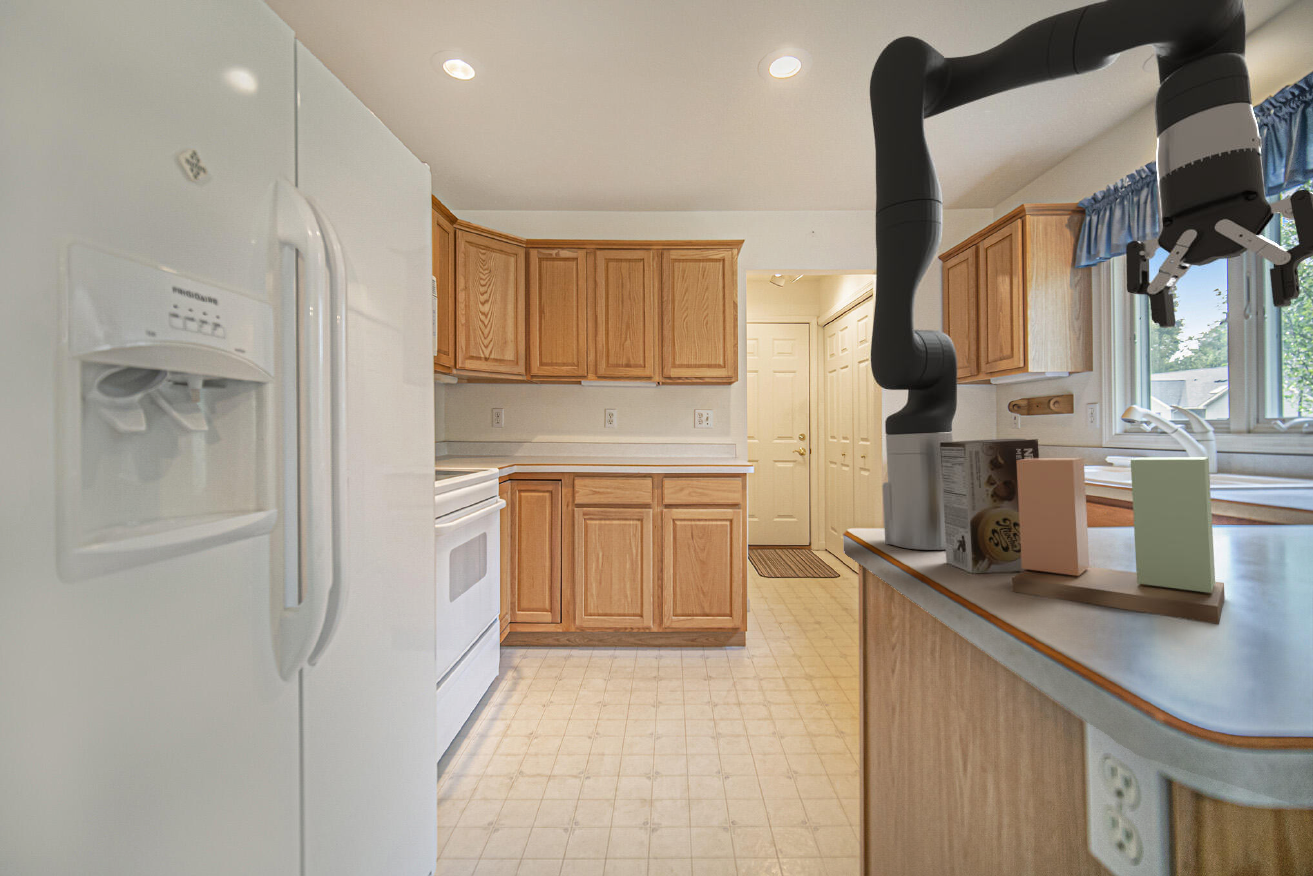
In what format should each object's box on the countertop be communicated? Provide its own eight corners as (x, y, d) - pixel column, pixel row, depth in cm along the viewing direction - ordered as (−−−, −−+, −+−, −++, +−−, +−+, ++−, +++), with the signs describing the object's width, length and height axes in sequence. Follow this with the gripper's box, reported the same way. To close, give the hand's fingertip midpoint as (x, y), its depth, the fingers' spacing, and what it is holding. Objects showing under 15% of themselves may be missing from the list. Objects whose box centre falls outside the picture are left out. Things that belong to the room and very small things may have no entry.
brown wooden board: (1012, 591, 56) (1012, 577, 56) (1039, 573, 63) (1038, 561, 63) (1218, 624, 45) (1217, 606, 45) (1224, 598, 51) (1223, 582, 51)
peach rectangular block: (1021, 568, 58) (1016, 460, 58) (1034, 560, 62) (1029, 458, 62) (1078, 575, 55) (1072, 460, 55) (1089, 567, 58) (1083, 457, 58)
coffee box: (1012, 560, 70) (1007, 438, 70) (1048, 571, 63) (1041, 437, 64) (943, 562, 70) (938, 441, 70) (971, 574, 64) (965, 440, 64)
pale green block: (1137, 583, 51) (1130, 459, 51) (1144, 573, 54) (1138, 457, 55) (1211, 593, 47) (1204, 459, 47) (1215, 581, 51) (1208, 457, 51)
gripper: (1107, 191, 60) (1120, 331, 60) (1299, 117, 48) (1317, 294, 47) (1137, 201, 64) (1150, 334, 63) (1323, 135, 51) (1340, 300, 51)
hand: (1221, 317), depth 55 cm, fingers open, 8 cm apart
